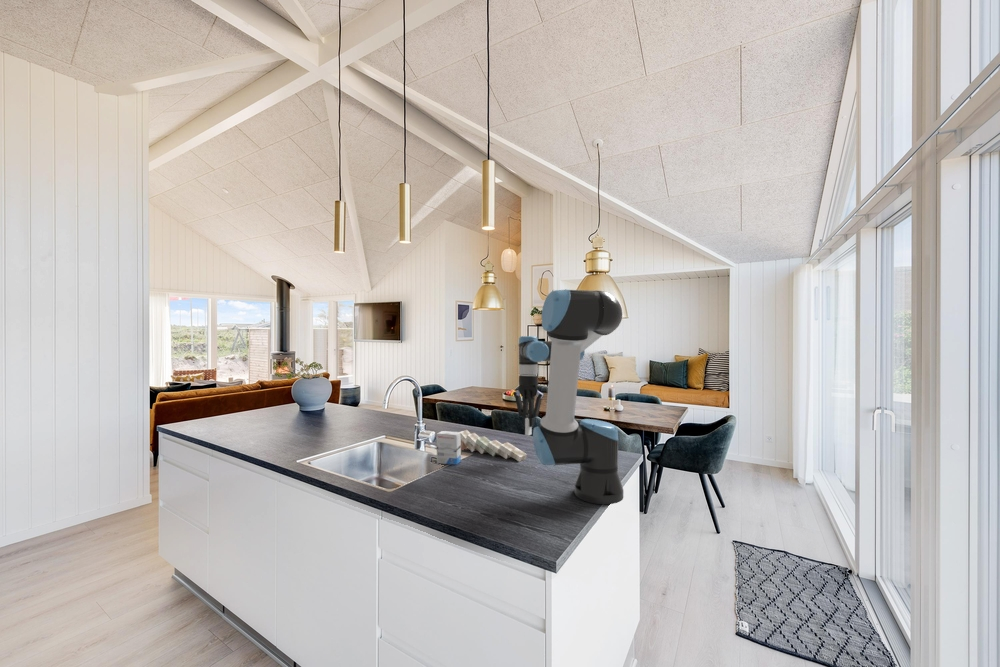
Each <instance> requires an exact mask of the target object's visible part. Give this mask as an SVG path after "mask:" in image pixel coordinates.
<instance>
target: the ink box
mask: <svg viewBox="0 0 1000 667" xmlns="http://www.w3.org/2000/svg"><path fill="white" fill-rule="evenodd" d="M460 432H461V431H450V430H449V431H448V430H447V431H446V430H441V431H440V432H438V433H435V434H436V463H437V464H443V465H444V464H445V465H454V466H457V465H458V464H459V463H460V462H461V461H462V455H461V453H462V450H461V439H460Z"/></svg>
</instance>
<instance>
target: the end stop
mask: <svg viewBox="0 0 1000 667" xmlns="http://www.w3.org/2000/svg"><path fill="white" fill-rule="evenodd" d="M467 448H468V447H467V446H466V444H465V443H464V442H463V441H462V440H461V451H462V450H463V451H465V450H467ZM464 449H465V450H464ZM468 449H469V448H468Z"/></svg>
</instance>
